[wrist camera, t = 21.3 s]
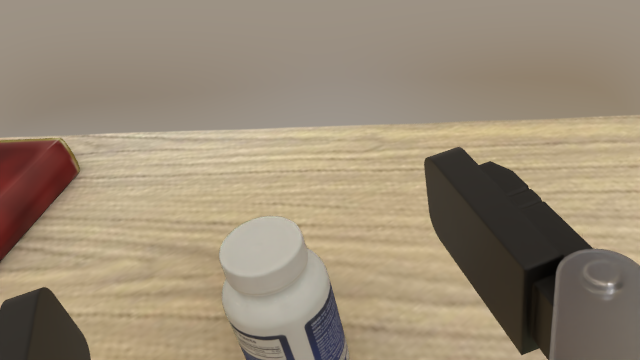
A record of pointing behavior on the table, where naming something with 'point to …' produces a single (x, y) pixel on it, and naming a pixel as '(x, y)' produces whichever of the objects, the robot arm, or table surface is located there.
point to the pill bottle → (279, 294)
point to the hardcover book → (30, 183)
